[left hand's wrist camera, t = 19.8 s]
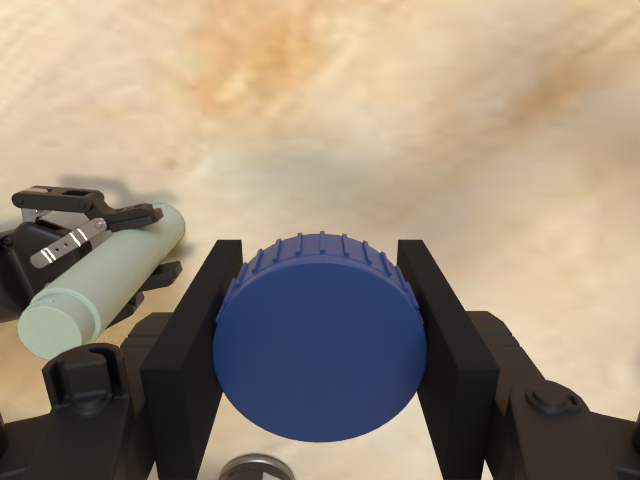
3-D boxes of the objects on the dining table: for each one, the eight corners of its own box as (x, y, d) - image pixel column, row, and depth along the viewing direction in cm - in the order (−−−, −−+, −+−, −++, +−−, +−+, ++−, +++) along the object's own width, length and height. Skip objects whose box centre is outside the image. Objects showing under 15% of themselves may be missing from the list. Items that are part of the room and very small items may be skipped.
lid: (346, 423, 13) (350, 474, 12) (190, 344, 12) (170, 388, 11) (454, 293, 12) (477, 331, 10) (287, 191, 11) (280, 214, 9)
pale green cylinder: (138, 203, 42) (1, 300, 24) (183, 203, 42) (80, 301, 24) (143, 244, 43) (19, 366, 25) (187, 245, 43) (93, 366, 25)
